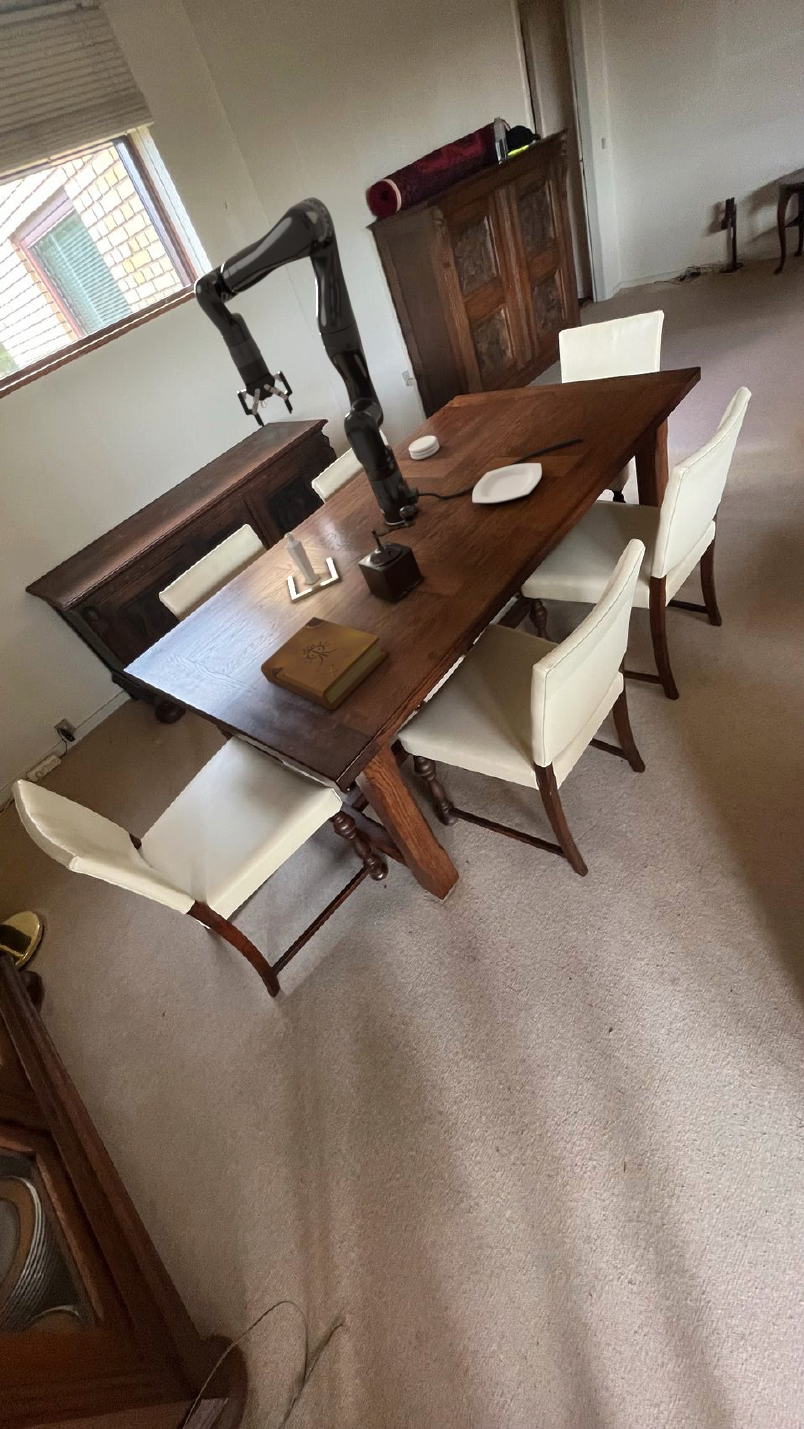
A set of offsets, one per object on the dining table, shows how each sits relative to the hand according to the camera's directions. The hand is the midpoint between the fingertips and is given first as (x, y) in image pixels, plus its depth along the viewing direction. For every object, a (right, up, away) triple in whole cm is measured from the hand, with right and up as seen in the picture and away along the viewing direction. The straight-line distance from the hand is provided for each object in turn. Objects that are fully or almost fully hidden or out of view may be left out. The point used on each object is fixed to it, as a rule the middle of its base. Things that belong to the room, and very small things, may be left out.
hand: (277, 419), depth 176 cm
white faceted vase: (+10, -45, +1) cm, 46 cm away
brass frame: (+10, -45, +1) cm, 46 cm away
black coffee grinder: (+36, -49, -16) cm, 63 cm away
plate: (+65, -21, -2) cm, 68 cm away
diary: (+18, -73, -32) cm, 82 cm away
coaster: (+43, +5, +35) cm, 56 cm away
